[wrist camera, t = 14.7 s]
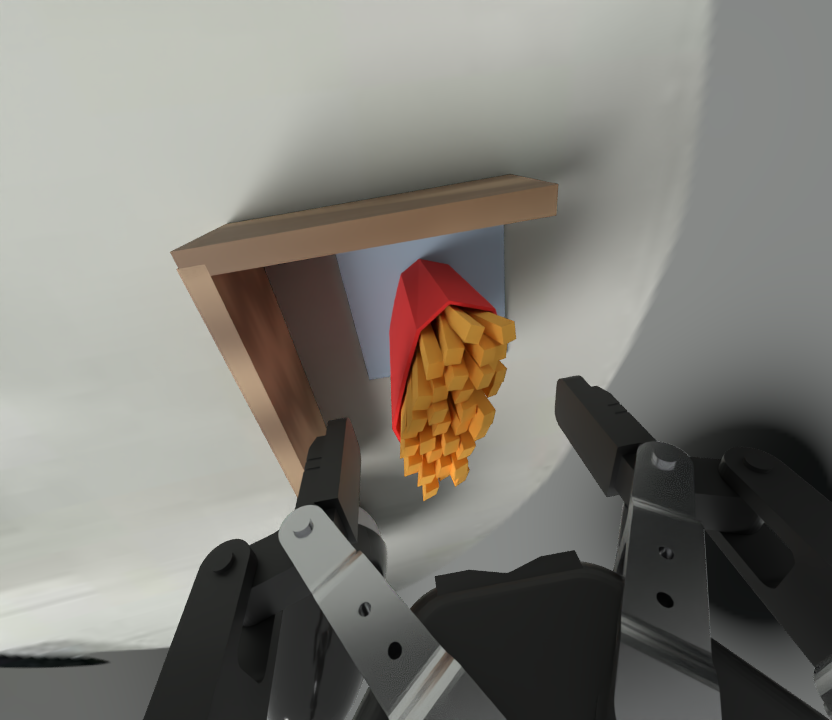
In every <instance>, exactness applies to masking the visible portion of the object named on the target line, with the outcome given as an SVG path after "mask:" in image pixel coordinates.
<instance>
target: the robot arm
mask: <svg viewBox="0 0 832 720" xmlns="http://www.w3.org/2000/svg"><path fill="white" fill-rule="evenodd" d="M555 416H556V420H557V422H558V425H559V426H560V428H561V429H562V431H563V432H564V434H565V435H566V437H567V438H568V440H569V441H570V443H571V444H572V446H573V447H574V449H575V450H576V452H577V453H578V455H579V456H580V458H581V459H582V461H583V462H584V464H585V465H586V467H587V468H588V470H589V471H590V473H591V474H592V476H593V477H594V479H595V480H596V482H597V483H598V485H599V486H600V488H601V489H602V491H603V492H604V494H605V495H606V497H610V496H615V495H620V496H621V498H622V499H623V501H624V503H623V507H622V515H621V522H620V529H619V537H618V544H617V551H616V558H615V563H614V568H613V571H611V570H609V569H607V568H604V567H602V566H599V565H595V564H592V563H587V562H580V560H579V558H578V556H577V554H576V552H575V551H574V550H573V551H567V552H562V553H557V554H552V555H546V556H541V557H539V558H537V559H535V560H533V561H531V562H529V563H527V564H525V565H523V566H521V567H519V568H517V569H515V570H514V571H511V572H509V573H499V572H487V571H476V570H466V571H461V572H456V573H450V574H445V575H439V576H435V581H436V588H434V589H432V590H430V591H429V592H428V593H426V594H425V595H423V596H422V597H421V598H420V599H419V600H418V601H417V602H416V603H415V604H414V605H413V606H412V607H411V608H410V609H409V607H408V606H407V605H406V604H405V603H404V601H403V600H402V599H401V598H400V597H399V595H398V594H397V593H396V592H395V591H394V589H393V588H392V587H391V586H390V585H389V583H388V582H387V581H386V580H385V579H384V578H383V576H382V575H381V574H380V573H379V572H378V570H377V569H376V568H375V567H374V566H373V564H372V563H371V562H370V561H369V560H368V558H367V557H366V556H365V555H364V554H363V553H362V552H361V551H360V550H358V551H356V550H355V549H354V547H353V546H352V545H351V544H352V543H357V535H358V515H359V495H360V474H361V454H360V448H359V445H358V442H357V439H356V436H355V433H354V430H353V427H352V424H351V421H350V419H349V418H348V417H347V418H342V419H336V420H331V421H329V422H328V425H327V430H326V435H325V436H319V437H316V439H315V440H314V442H313V443H312V444H311V446H310V447H309V450H308V454H307V459H306V461H307V462H306V463H305V467H304V472H303V476H302V481H301V485H300V489H299V494H298V498H297V503H296V507H295V510H294V511H293V512H291V513H290V514H289V515H288V516H287V517H286V518H285V520H284V521H283V522H282V524H281V526H280V529H279V530H278V531H277V532H275V533H273V534H272V535H270V536H268V537H266V538H263V539H261V540H259V541H257V542H255V543H253V544H251V545H248V543H247V542H246V541H244V540H241V539H233V540H229V541H226V542H224V543H222V544H220V545H219V546H217V547H216V548H215V549H214V550H212V551H211V552H210V553H209V554H208V555H207V557H206V558H205V559H204V561H203V562H202V564H201V566H200V568H199V571H198V573H197V576H196V579H195V581H194V584H193V587H192V589H191V592H190V595H189V598H188V600H187V603H186V606H185V608H184V611H183V614H182V616H181V619H180V622H179V625H178V627H177V630H176V633H175V635H174V638H173V641H172V643H171V646H170V649H169V651H168V654H167V657H166V660H165V662H164V665H163V668H162V670H161V673H160V676H159V679H158V681H157V684H156V687H155V689H154V692H153V695H152V697H151V700H150V703H149V705H148V708H147V711H146V714H145V716H144V719H143V720H268V717H267V714H268V707H269V701H270V694H271V687H272V681H273V674H274V668H275V661H276V655H277V648H278V641H279V635H280V628H281V622H282V615H283V609H285V608H287V607H289V606H290V605H292V604H294V603H296V602H298V601H299V600H301V599H303V598H305V597H306V596H308V595H310V594H312V595H313V597H314V598H315V600H316V602H317V603H318V605H319V606H320V608H321V610H322V611H323V613H324V615H325V616H326V618H327V619H328V621H329V623H330V624H331V626H332V628H333V629H334V631H335V632H336V634H337V636H338V637H339V639H340V640H341V642H342V644H343V645H344V647H345V649H346V650H347V652H348V653H349V655H350V657H351V658H352V660H353V661H354V663H355V665H356V666H357V668H358V670H359V671H360V673H361V674H362V676H363V678H364V679H365V681H366V683H367V684H368V686H369V687H368V689H367V691H366V693H365V695H364V697H363V699H362V701H361V703H360V705H359V707H358V709H357V711H356V713H355V715H354V717H353V719H352V720H829V719H828V718H826V717H825V716H824V715H822V714H821V713H819V712H818V711H816V710H815V709H814V708H812V707H811V706H809V705H808V704H806V703H805V702H804V701H802V700H801V699H799V698H798V697H796V696H795V695H794V694H792V693H791V692H789V691H787V690H786V689H785V688H783V687H782V686H780V685H779V684H778V683H776V682H775V681H773V680H772V679H770V678H769V677H768V676H766V675H765V674H763V673H762V672H760V671H759V670H757V669H756V668H755V667H753V666H752V665H750V664H749V663H747V662H746V661H744V660H743V659H742V658H740V657H738V656H737V655H736V654H734V653H733V652H731V651H730V650H729V649H727V648H726V647H724V646H723V645H721V644H720V643H718V642H717V641H716V640H714V639H713V638H711V636H710V620H709V603H708V587H707V571H706V554H705V538H704V530H706V531H707V533H708V534H709V535H710V536H711V538H712V539H713V540H714V542H715V543H716V544H717V545H718V547H719V548H720V549H721V550H722V552H723V553H724V554H725V555H726V557H727V558H728V559H729V560H730V562H731V563H732V564H733V565H734V567H735V568H736V569H737V570H738V572H739V573H740V574H741V575H742V577H743V578H744V579H745V580H746V582H747V583H748V584H749V586H750V587H751V588H752V589H753V591H754V592H755V593H756V594H757V595H758V597H759V598H760V599H761V601H762V602H763V603H764V604H765V605H766V607H767V608H768V609H769V611H770V612H771V613H772V614H773V616H774V617H775V618H776V619H777V621H778V622H779V623H780V624H781V626H782V627H783V628H784V629H785V631H786V632H787V633H788V634H789V636H790V637H791V638H792V639H793V641H794V642H795V643H796V644H797V645H798V647H799V648H800V649H801V651H802V652H803V653H804V654H805V655H806V657H807V658H808V659H809V660H810V662H811V663H812V664H813V666H814V667H815V669H814V673H813V678H814V683H815V686H816V689H817V691H818V693H819V695H820V697H821V699H822V700H823V702H824V704H823V705H824V709H825V711H826V713H827V715H828V716H829V717H830V719H831V720H832V503H831V502H830V501H829V500H828V499H826V498H825V497H824V496H823V495H822V494H820V493H819V492H818V491H817V490H816V489H814V488H813V487H812V486H811V485H809V484H808V483H807V482H806V481H805V480H803V479H802V478H801V477H800V476H799V475H797V474H796V473H795V472H793V471H792V470H791V469H790V468H789V467H788V466H786V465H785V464H784V463H783V462H781V461H780V460H779V459H777V458H775V457H774V456H772V455H770V454H768V453H766V452H764V451H761V450H758V449H754V448H749V447H733V448H730V449H728V450H727V451H726V452H725V453H724V456H723V458H722V459H713V458H712V459H711V458H699V457H689V456H688V455H687V454H686V453H685V452H684V451H683V450H681V449H679V448H678V447H676V446H673V445H671V444H668V443H664V442H658V441H656V440H655V439H654V438H653V437H652V436H651V435H650V434H649V433H648V432H647V430H646V429H645V428H644V427H642V425H641V424H640V423H639V422H638V421H637V420H636V419H635V418H634V417H633V416H632V415H631V414H630V413H629V412H627V410H626V409H625V408H624V407H623V406H622V405H620V404H619V402H618V401H617V400H616V399H615V398H614V397H613V396H612V394H611V393H609V392H607V391H605V390H603V389H602V388H600V387H598V386H593V387H591V386H590V385H589V384H588V383H587V382H586V381H585V380H584V379H583V378H582V377H581V376H579V375H578V376H572V377H567V378H561V379H558V381H557V387H556V400H555ZM764 522H765V523H766V524H767V525H768V526H769V527H770V528H771V529H772V530H773V531H774V532H775V533H776V534H777V535H778V536H779V537H780V538H781V539H782V540H783V541H784V542H785V543H786V544H787V545H788V547H789V548H790V549H789V548H788V547H787V546H786V545H785V544H784V543H783V542H782V541H781V540H780V539H779V538H778V537H777V536H776V535H775V534H774V533H773V532H772V530H771V529H769V527H768V526H767V525H766V524H765V523H764Z"/></svg>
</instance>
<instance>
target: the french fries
mask: <svg viewBox="0 0 832 720" xmlns="http://www.w3.org/2000/svg"><path fill="white" fill-rule="evenodd" d="M515 339H516V333H515V322H514V321H512V320H509V319H507V318H504V317H501V316H499V315H497V312H496V309H495V308H494V307H493V306H492V305H491V304H490V303H489V302H488V301H487V300H486V299H485V298H484V297H483V296H482V295H480V294H479V293H478V292H477V291H476V290H475V289H474V288H473V287H472V286H471V285H470V284H469V283H468V282H467V281H466V280H465V279H463V278H462V277H461V276H460V275H459V274H458V273H457V272H456V271H455V270H454V269H453V268H452V267H451V266H450V265H448V264H443V263H438V262H433V261H428V260H423V259H418V260H417V261H416V262H414V263H413V264H412V265H411V266H410V267H408V268H407V269H406V270H405V271H404V272H402V273H401V275H400V279H399V283H398V287H397V292H396V296H395V301H394V306H393V311H392V317H391V323H390V330H389V341H390V372H391V404H392V429H393V431H394V433H395V435H396V436H397V438H398V440H399V442H400V459H401V458H404V477H405V476H408V475H411V474H414V473H417V472H418V485H417V487H418V486H423V501H425V500H427V499H429V498H430V497H432V496H434V495H436V493H437V491H438V488H439V482H438V478H439V480H440V481H441V480H443V479H444V478H446V477H448V476H449V475H451V478H452V480H453V482H454V485H455V487H456V486H457V485H459V484H460V483H462V482H463V481H465V479H466V477H467V475H468V472H469V470H470V469H469V467H468V460H467V457H468V456H470V454H471V453H472V451H473V450H474V448H475V447H476V444H475V441H476V440H478V439H480V438H482V437H484V436H485V435H486V433H487V431H488V429H489V427H490V425H491V424H492V423H493V419H494V415H495V411H496V410H495V409H494V407H493V406H492V404H491V403H490V401H489V400H488V399H487V398H488V397H491V396H493V395H496V394H497V392H498V390H499V388H500V386H501V384H502V382H504V378H505V374H506V370H507V368H506V367H505V366H504V365H503V364H502V363H501V362H500V361H499V360H501V359H504V358H506V351H507V343H509V342H511V341H513V340H515ZM484 393H485V394H484ZM485 395H486V396H487V397H486V396H485Z"/></svg>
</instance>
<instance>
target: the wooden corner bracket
mask: <svg viewBox="0 0 832 720" xmlns="http://www.w3.org/2000/svg"><path fill="white" fill-rule="evenodd" d="M557 197H558V184H556V183H551V182H546V181H541V180H536V179H531V178H526V177H522V176H517V175H512V174H509V175H503V176H498V177H492V178H486V179H480V180H475V181H469V182H463V183H458V184H452V185H446V186H440V187H435V188H429V189H423V190H418V191H412V192H406V193H401V194H395V195H389V196H383V197H378V198H372V199H366V200H361V201H355V202H349V203H343V204H338V205H332V206H326V207H321V208H315V209H309V210H303V211H298V212H292V213H286V214H281V215H275V216H269V217H264V218H258V219H252V220H246V221H241V222H235V223H229V224H225V225H223V226H221V227H219V228H217V229H215V230H213V231H211V232H209V233H207V234H205V235H203V236H201V237H199V238H197V239H195V240H193V241H191V242H189V243H187V244H185V245H183V246H181V247H179V248H177V249H175V250H173V251H171V252H170V253H171V255H172V257H173V259H174V261H175V262H176V264H177V266H178V269H177V271H178V273H179V275H180V277H181V279H182V281H183V283H184V284H185V286H186V288H187V290H188V292H189V294H190V296H191V298H192V300H193V301H194V303H195V305H196V307H197V309H198V311H199V313H200V315H201V317H202V318H203V320H204V322H205V324H206V326H207V328H208V330H209V332H210V334H211V335H212V337H213V339H214V341H215V343H216V345H217V347H218V349H219V351H220V352H221V354H222V356H223V358H224V360H225V362H226V364H227V366H228V368H229V369H230V371H231V373H232V375H233V377H234V379H235V381H236V383H237V385H238V386H239V388H240V390H241V392H242V394H243V396H244V398H245V400H246V402H247V403H248V405H249V407H250V409H251V411H252V413H253V415H254V417H255V419H256V420H257V422H258V424H259V426H260V428H261V430H262V432H263V434H264V436H265V437H266V439H267V441H268V443H269V445H270V447H271V449H272V451H273V453H274V454H275V456H276V458H277V460H278V462H279V464H280V466H281V468H282V470H283V471H284V473H285V475H286V477H287V479H288V481H289V483H290V485H291V487H292V488H293V490H294V492H295V494H296V496H297V498H298V494H299V489H300V485H301V481H302V476H303V472H304V467H305V463H306V462H307V461H306V459H307V454H308V450H309V447H310V446H311V444H312V443H313V442H314V440H315V439H316V437H319V436H325V435H326V430H327V428H326V426H325V423H324V421H323V418H322V416H321V413H320V411H319V408H318V405H317V403H316V400H315V398H314V395H313V393H312V390H311V387H310V385H309V382H308V380H307V377H306V375H305V372H304V370H303V367H302V364H301V362H300V359H299V357H298V354H297V352H296V349H295V347H294V344H293V341H292V339H291V336H290V334H289V331H288V329H287V326H286V323H285V321H284V318H283V316H282V313H281V311H280V308H279V306H278V303H277V300H276V298H275V295H274V293H273V290H272V288H271V285H270V282H269V280H268V277H267V275H266V272H265V270H264V266H270V265H276V264H281V263H287V262H293V261H298V260H304V259H310V258H316V257H321V256H327V255H333V254H338V253H344V252H350V251H356V250H361V249H367V248H373V247H378V246H384V245H390V244H396V243H401V242H407V241H413V240H418V239H424V238H430V237H436V236H441V235H447V234H453V233H458V232H464V231H470V230H476V229H481V228H487V227H493V226H498V225H504V224H510V223H516V222H521V221H527V220H533V219H538V218H544V217H550V216H556V212H557Z"/></svg>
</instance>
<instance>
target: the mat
mask: <svg viewBox="0 0 832 720" xmlns="http://www.w3.org/2000/svg"><path fill="white" fill-rule="evenodd" d="M336 258H337V262H338V265H339V269H340V273H341V276H342V280H343V284H344V287H345V291H346V295H347V299H348V302H349V306H350V310H351V313H352V317H353V321H354V324H355V328H356V332H357V335H358V339H359V343H360V346H361V350H362V354H363V358H364V361H365V365H366V369H367V372H368V376H369V380H372V379H378V378H384V377H389V376H391V372H390V341H389V330H390V323H391V317H392V311H393V306H394V301H395V296H396V292H397V287H398V283H399V279H400V275H401V273H402V272H404V271H405V270H406V269H407V268H408V267H410V266H411V265H412V264H413V263H414V262H416V261H417V260H418V259H423V260H428V261H433V262H438V263H443V264H448V265H450V266H451V267H452V268H453V269H454V270H455V271H456V272H457V273H458V274H459V275H460V276H461V277H462V278H463V279H465V280H466V281H467V282H468V283H469V284H470V285H471V286H472V287H473V288H474V289H475V290H476V291H477V292H478V293H479V294H480V295H482V296H483V297H484V298H485V299H486V300H487V301H488V302H489V303H490V304H491V305H492V306H493V307H494V308H495V309H496V312H497V315H499V316H501V317H504V318H505V287H504V225H498V226H493V227H487V228H481V229H476V230H470V231H464V232H458V233H453V234H447V235H441V236H436V237H430V238H424V239H418V240H413V241H407V242H401V243H396V244H390V245H384V246H378V247H373V248H367V249H361V250H356V251H350V252H344V253H338V254H336Z"/></svg>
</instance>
